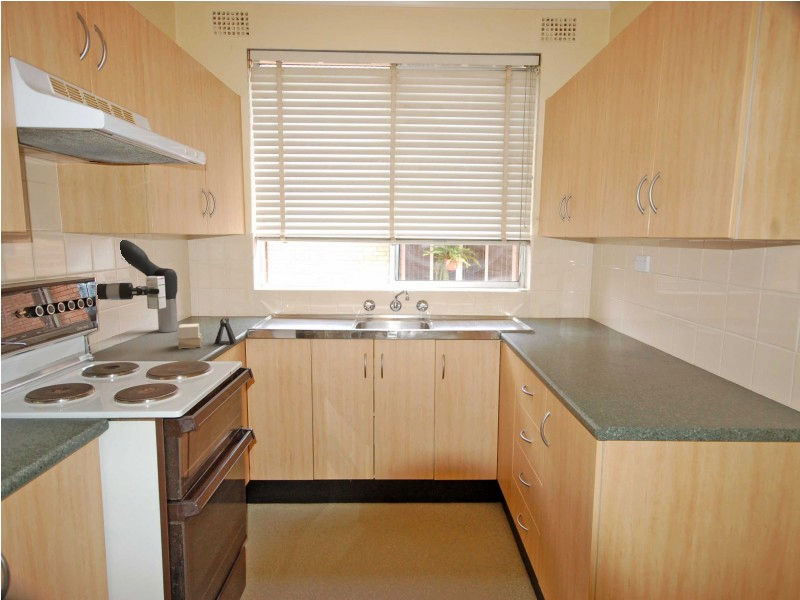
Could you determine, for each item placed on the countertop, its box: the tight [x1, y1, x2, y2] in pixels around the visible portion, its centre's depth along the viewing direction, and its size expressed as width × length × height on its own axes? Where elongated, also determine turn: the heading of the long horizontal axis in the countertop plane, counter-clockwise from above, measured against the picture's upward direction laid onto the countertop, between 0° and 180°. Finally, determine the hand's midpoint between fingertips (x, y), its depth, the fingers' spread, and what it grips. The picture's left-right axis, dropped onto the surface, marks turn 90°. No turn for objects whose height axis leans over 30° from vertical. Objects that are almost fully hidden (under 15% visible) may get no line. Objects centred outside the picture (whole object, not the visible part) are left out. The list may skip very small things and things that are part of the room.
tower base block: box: [177, 333, 203, 350], centre depth 220 cm, size 9×9×5 cm
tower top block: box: [178, 323, 200, 339], centre depth 219 cm, size 8×8×5 cm
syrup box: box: [145, 276, 166, 310], centre depth 217 cm, size 6×6×14 cm
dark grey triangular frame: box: [214, 316, 237, 345], centre depth 227 cm, size 9×6×12 cm, turn 99°
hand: (160, 290), depth 218 cm, fingers closed on syrup box, 7 cm apart
